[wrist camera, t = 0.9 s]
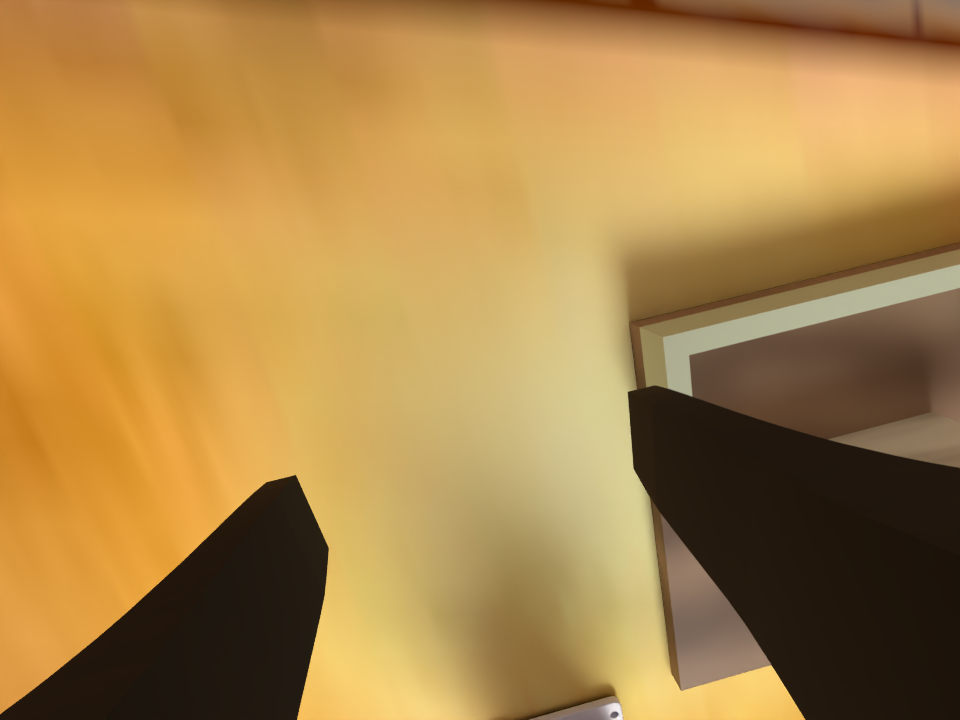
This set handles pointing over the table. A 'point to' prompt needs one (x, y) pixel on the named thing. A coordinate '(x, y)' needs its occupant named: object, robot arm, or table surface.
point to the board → (801, 427)
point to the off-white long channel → (787, 314)
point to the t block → (912, 439)
